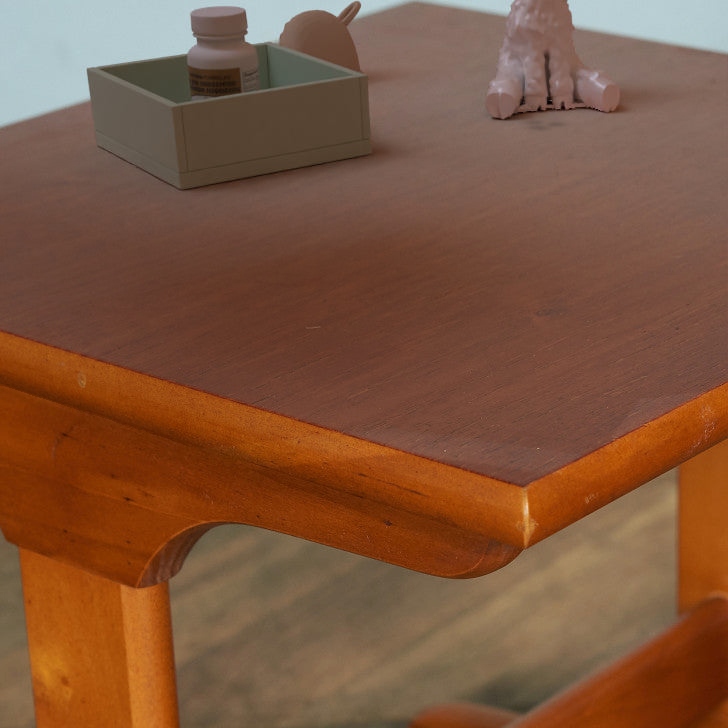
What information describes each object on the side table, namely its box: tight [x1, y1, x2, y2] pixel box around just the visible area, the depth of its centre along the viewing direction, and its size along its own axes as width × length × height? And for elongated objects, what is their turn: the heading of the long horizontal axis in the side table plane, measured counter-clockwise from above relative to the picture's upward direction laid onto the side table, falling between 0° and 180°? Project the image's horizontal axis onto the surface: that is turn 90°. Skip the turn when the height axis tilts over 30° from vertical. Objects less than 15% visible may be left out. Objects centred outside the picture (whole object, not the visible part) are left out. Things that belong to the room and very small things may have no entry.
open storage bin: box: [86, 41, 372, 190], centre depth 107 cm, size 13×13×5 cm
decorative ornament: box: [278, 0, 365, 74], centre depth 123 cm, size 4×8×5 cm, turn 133°
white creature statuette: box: [485, 0, 621, 120], centre depth 115 cm, size 10×9×12 cm
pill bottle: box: [186, 5, 260, 101], centre depth 105 cm, size 4×4×8 cm
